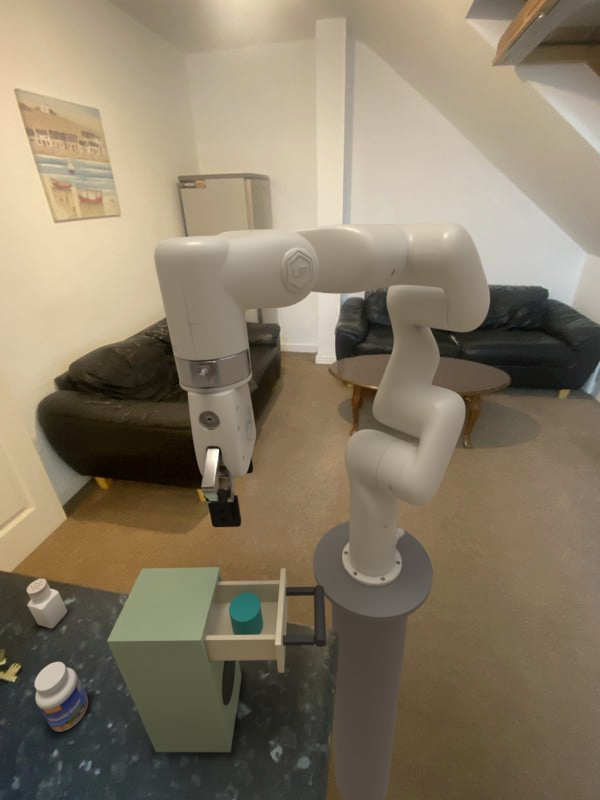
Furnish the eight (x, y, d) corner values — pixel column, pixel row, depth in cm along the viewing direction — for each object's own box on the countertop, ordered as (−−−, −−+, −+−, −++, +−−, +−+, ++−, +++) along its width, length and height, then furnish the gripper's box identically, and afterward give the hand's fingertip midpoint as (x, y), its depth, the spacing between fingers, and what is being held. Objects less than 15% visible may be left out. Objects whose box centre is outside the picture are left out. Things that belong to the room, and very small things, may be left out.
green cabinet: (243, 675, 62) (222, 566, 51) (232, 752, 53) (203, 640, 42) (177, 676, 63) (141, 568, 52) (155, 752, 54) (106, 641, 43)
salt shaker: (54, 607, 76) (37, 574, 72) (69, 611, 75) (53, 578, 70) (36, 625, 72) (18, 592, 68) (52, 630, 71) (35, 597, 67)
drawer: (324, 593, 53) (323, 567, 51) (327, 672, 44) (326, 644, 42) (213, 595, 54) (207, 569, 52) (193, 673, 45) (185, 645, 42)
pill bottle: (54, 742, 55) (30, 706, 51) (47, 710, 59) (25, 675, 55) (93, 712, 59) (74, 677, 54) (84, 684, 62) (66, 649, 58)
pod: (269, 626, 49) (266, 606, 47) (244, 648, 46) (240, 628, 44) (251, 606, 51) (248, 586, 50) (226, 626, 49) (222, 606, 47)
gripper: (235, 400, 30) (256, 551, 38) (260, 340, 46) (271, 455, 53) (146, 404, 31) (184, 553, 38) (200, 343, 46) (220, 457, 54)
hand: (235, 496), depth 46 cm, fingers open, 9 cm apart
